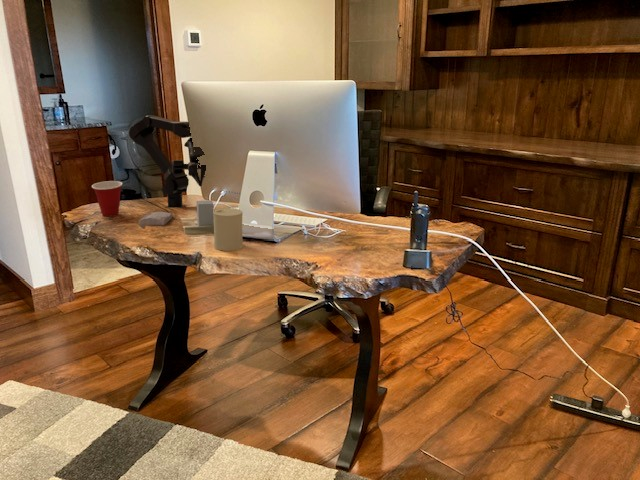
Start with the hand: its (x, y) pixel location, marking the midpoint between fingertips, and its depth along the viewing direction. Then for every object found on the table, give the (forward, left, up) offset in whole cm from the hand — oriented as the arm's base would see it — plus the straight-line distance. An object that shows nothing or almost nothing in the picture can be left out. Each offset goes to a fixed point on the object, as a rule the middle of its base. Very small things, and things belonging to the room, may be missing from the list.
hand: (200, 185), depth 189 cm
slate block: (+11, +6, -12) cm, 18 cm away
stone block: (+9, -14, -14) cm, 22 cm away
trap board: (+8, +4, -13) cm, 16 cm away
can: (+25, +20, -14) cm, 35 cm away
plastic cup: (+3, -36, -14) cm, 39 cm away
